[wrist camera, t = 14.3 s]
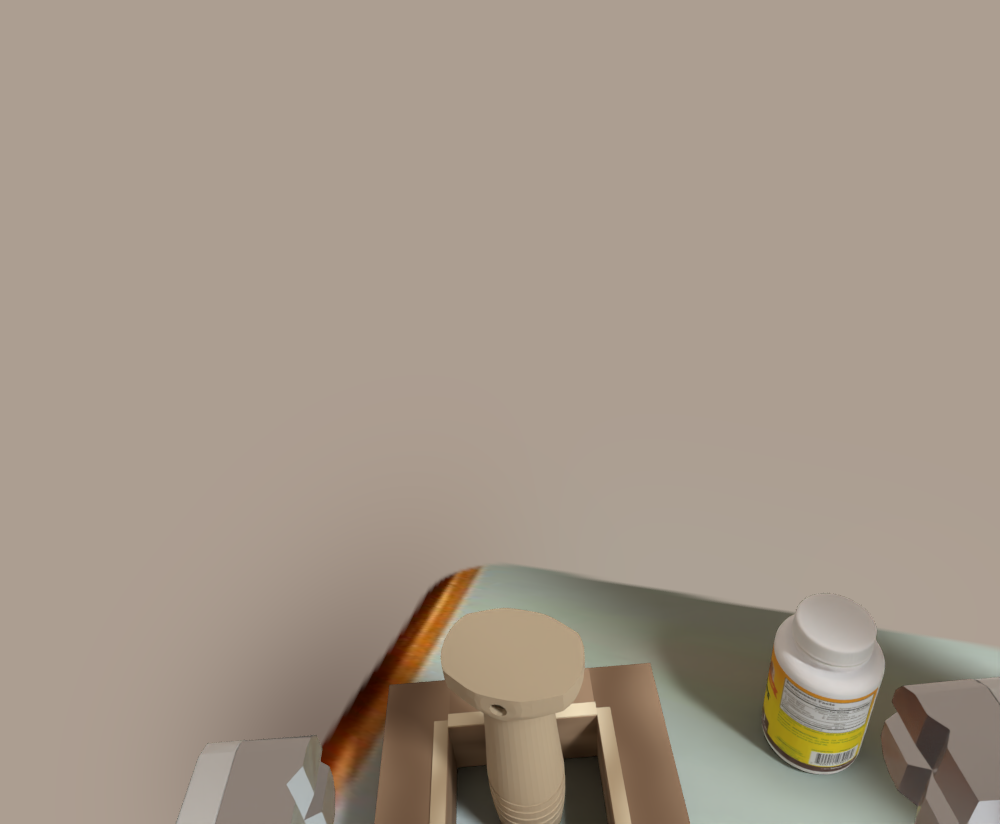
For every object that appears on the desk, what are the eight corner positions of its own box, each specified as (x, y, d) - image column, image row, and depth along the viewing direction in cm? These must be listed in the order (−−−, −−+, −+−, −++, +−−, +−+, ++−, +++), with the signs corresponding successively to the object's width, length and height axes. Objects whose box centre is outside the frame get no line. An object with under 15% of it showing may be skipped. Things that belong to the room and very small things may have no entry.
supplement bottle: (787, 678, 47) (811, 565, 41) (875, 732, 43) (913, 617, 38) (741, 736, 44) (759, 623, 38) (831, 800, 40) (866, 685, 35)
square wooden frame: (648, 703, 46) (650, 661, 44) (709, 962, 34) (715, 924, 32) (399, 723, 46) (389, 684, 44) (376, 987, 35) (359, 951, 32)
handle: (490, 772, 43) (461, 599, 35) (597, 798, 41) (593, 622, 33) (464, 856, 39) (425, 683, 31) (581, 888, 38) (571, 713, 29)
